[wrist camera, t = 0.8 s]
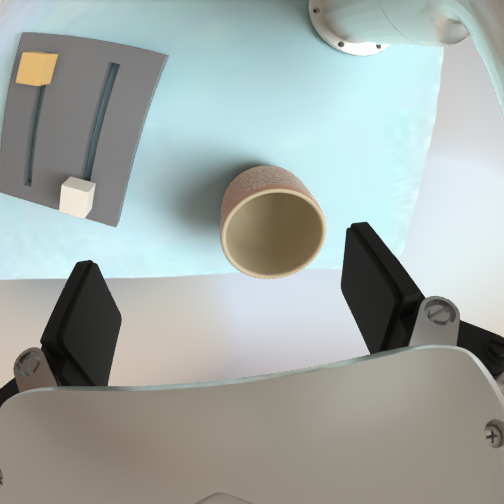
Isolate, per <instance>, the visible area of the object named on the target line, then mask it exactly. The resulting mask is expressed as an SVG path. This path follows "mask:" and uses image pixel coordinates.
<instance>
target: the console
mask: <svg viewBox="0 0 504 504" xmlns="http://www.w3.org/2000/svg"><path fill="white" fill-rule="evenodd" d="M32 51H37V52H46V53H54V54H58V57H57V60H56V64H55V67H54V71H53V75H52V79H51V83H50V84H46V87H45V92H44V96H43V101H42V106H41V111H40V117H39V122H38V129H37V135H36V142H35V150H34V159H33V169H32V180H29V178H30V166H31V156H32V147H33V139H34V132H35V126H36V120H37V114H38V108H39V103H40V98H41V94H42V89H43V85H42V86H34V85H28V84H21V83H16V78H17V74H18V70H19V65H20V61H21V58H22V54H23V52H32ZM168 56H169V55H165V54H161V53H157V52H153V51H149V50H145V49H141V48H137V47H132V46H127V45H122V44H117V43H112V42H107V41H101V40H95V39H89V38H82V37H74V36H66V35H56V34H45V33H30V32H23V33H22V37H21V40H20V43H19V47H18V51H17V54H16V58H15V62H14V66H13V71H12V75H11V80H10V85H9V90H8V95H7V101H6V108H5V114H4V122H3V131H2V141H1V153H0V192H1V193H5V194H8V195H11V196H14V197H17V198H21V199H24V200H27V201H30V202H34V203H37V204H40V205H43V206H47V207H50V208H53V209H57V210H59V206H60V196H61V187H62V184H63V183H64V182H65V181H66V180H67V179H68V178H69V177H70V176H71V177H75V178H79V179H82V180H84V178H85V173H86V167H87V162H88V157H89V152H90V147H91V142H92V138H93V133H94V129H95V125H96V121H97V117H98V113H99V109H100V105H101V102H102V98H103V95H104V91H105V88H106V85H107V81H108V78H109V75H110V72H111V69H112V66H113V63H117V64H120V66H119V69H118V72H117V75H116V78H115V82H114V85H113V88H112V91H111V95H110V98H109V101H108V105H107V108H106V112H105V116H104V120H103V124H102V127H101V132H100V136H99V140H98V144H97V149H96V154H95V158H94V163H93V168H92V174H91V179H90V182H93V183H96V185H95V191H94V197H93V203H92V209H91V210H90V212H89V213H88V215H87V216H86V217H85V218H87V219H90V220H93V221H97V222H100V223H103V224H107V225H110V226H113V227H116V226H117V224H118V223H119V221H120V216H121V211H122V206H123V202H124V197H125V193H126V189H127V185H128V180H129V176H130V172H131V169H132V165H133V161H134V157H135V154H136V150H137V147H138V143H139V140H140V136H141V133H142V130H143V126H144V123H145V120H146V117H147V114H148V111H149V108H150V105H151V102H152V99H153V96H154V93H155V90H156V87H157V85H158V82H159V79H160V77H161V74H162V71H163V69H164V66H165V64H166V61H167V59H168Z"/></svg>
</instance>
